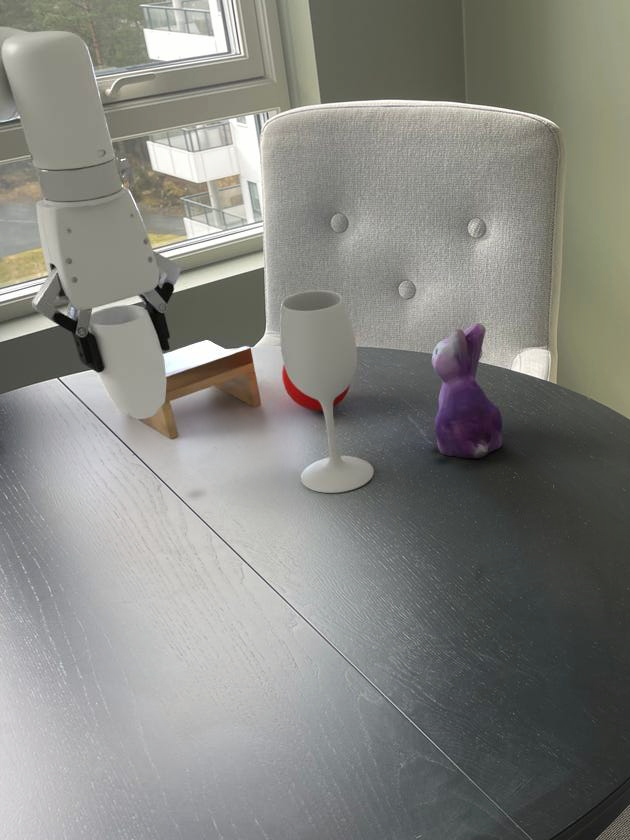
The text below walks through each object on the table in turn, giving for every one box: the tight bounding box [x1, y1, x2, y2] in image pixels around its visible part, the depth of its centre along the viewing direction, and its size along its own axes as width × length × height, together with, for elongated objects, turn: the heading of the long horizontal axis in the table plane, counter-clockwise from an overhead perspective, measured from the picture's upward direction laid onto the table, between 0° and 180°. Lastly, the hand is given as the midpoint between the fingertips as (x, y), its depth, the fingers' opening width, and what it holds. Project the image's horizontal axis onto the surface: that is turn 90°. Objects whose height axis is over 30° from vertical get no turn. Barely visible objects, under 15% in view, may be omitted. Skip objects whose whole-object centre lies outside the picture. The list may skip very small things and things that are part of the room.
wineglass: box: [279, 289, 375, 494], centre depth 109 cm, size 9×9×21 cm
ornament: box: [281, 363, 351, 412], centre depth 128 cm, size 9×9×10 cm
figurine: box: [431, 322, 503, 459], centre depth 117 cm, size 9×10×15 cm
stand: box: [138, 339, 262, 440], centre depth 130 cm, size 12×14×8 cm
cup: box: [89, 304, 166, 420], centre depth 109 cm, size 7×7×21 cm
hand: (128, 356), depth 105 cm, fingers closed on cup, 7 cm apart
